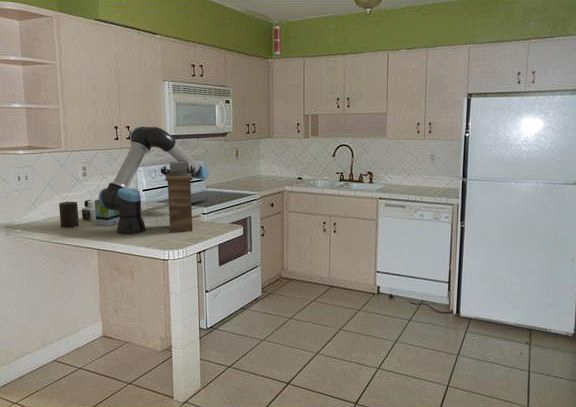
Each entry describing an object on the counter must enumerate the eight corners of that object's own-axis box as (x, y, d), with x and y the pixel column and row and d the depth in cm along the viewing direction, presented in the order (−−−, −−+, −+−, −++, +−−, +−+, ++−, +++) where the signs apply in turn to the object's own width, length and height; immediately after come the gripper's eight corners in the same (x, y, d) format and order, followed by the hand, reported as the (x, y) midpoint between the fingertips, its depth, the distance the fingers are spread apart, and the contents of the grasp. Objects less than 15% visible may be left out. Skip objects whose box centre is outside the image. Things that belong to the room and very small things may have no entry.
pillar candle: (67, 228, 280) (65, 202, 278) (57, 226, 286) (55, 201, 283) (82, 225, 288) (80, 200, 286) (72, 223, 294) (70, 198, 291)
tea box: (109, 226, 286) (107, 201, 283) (95, 225, 290) (93, 200, 287) (126, 220, 300) (124, 196, 297) (112, 219, 303) (111, 195, 301)
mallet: (187, 175, 276) (186, 162, 274) (170, 175, 274) (169, 163, 272) (185, 170, 300) (185, 158, 298) (170, 170, 298) (169, 159, 296)
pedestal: (194, 231, 273) (192, 177, 267) (168, 233, 270) (165, 178, 264) (192, 223, 291) (190, 173, 285) (168, 225, 288) (165, 174, 282)
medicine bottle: (82, 220, 302) (80, 200, 300) (91, 217, 308) (90, 199, 306) (90, 221, 299) (88, 201, 297) (99, 219, 305) (98, 199, 303)
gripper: (198, 183, 312) (199, 170, 292) (157, 184, 306) (156, 171, 287) (198, 172, 314) (199, 158, 295) (157, 173, 309) (155, 159, 289)
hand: (177, 164), depth 291 cm, fingers open, 13 cm apart
